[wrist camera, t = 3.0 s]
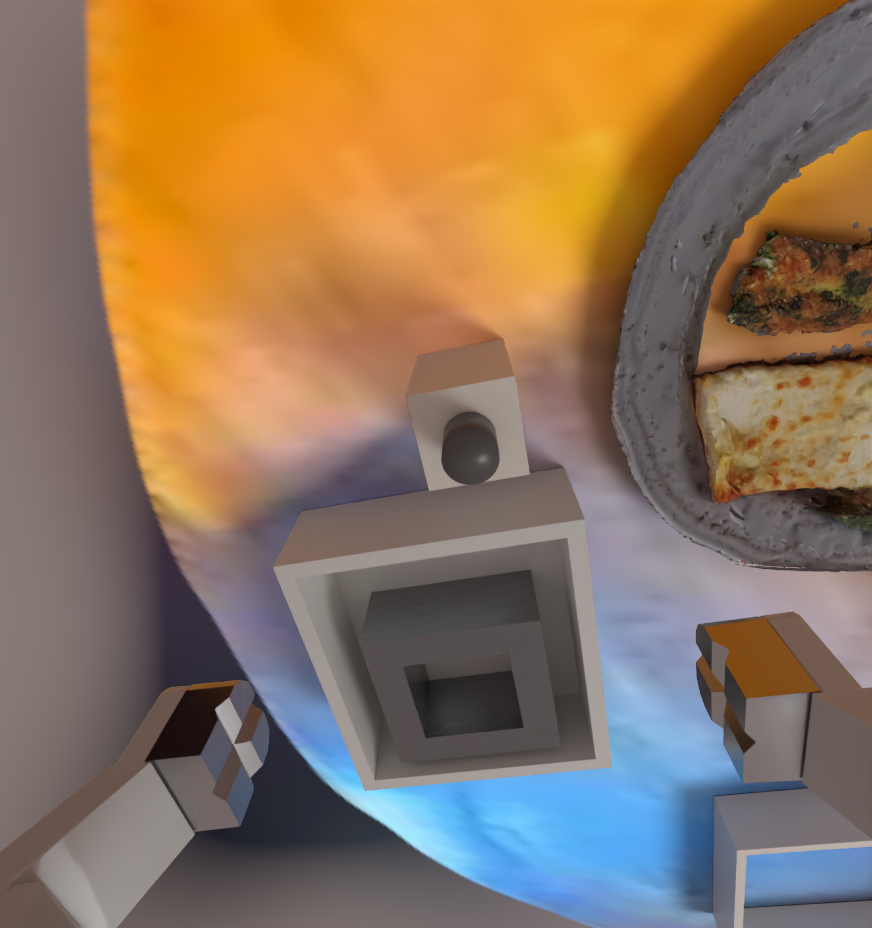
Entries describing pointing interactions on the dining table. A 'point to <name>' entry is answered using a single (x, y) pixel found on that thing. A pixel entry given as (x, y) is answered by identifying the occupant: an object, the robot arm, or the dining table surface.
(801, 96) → the food plate
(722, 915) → the open square frame
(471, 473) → the connector
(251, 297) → the dining table surface
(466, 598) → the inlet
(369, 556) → the walled box
